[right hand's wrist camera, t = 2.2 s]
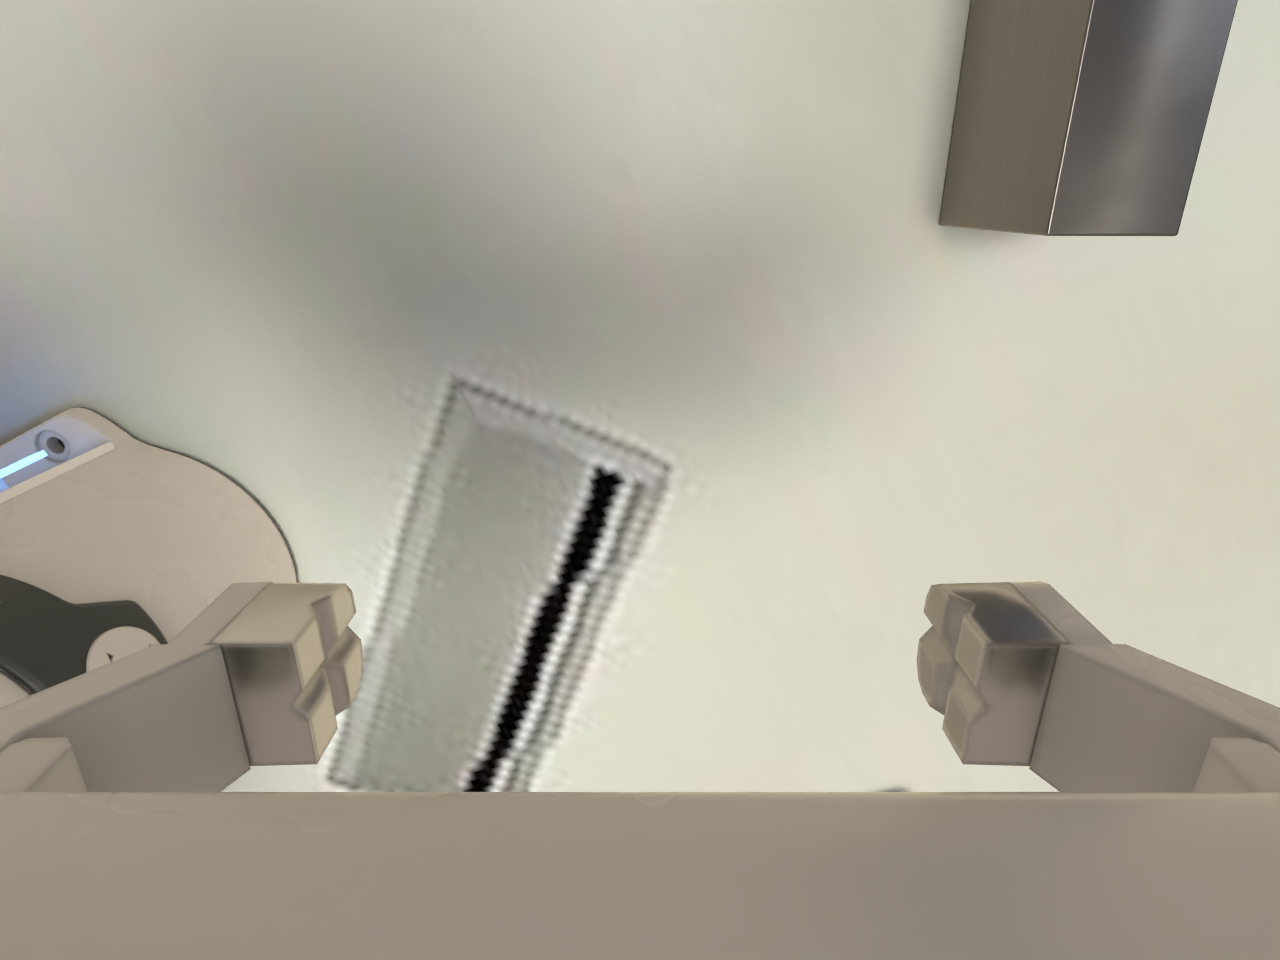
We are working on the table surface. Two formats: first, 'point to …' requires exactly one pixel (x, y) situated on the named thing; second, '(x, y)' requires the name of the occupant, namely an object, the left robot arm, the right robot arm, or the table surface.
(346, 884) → the right robot arm
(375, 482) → the table surface
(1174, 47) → the bar
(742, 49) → the table surface
